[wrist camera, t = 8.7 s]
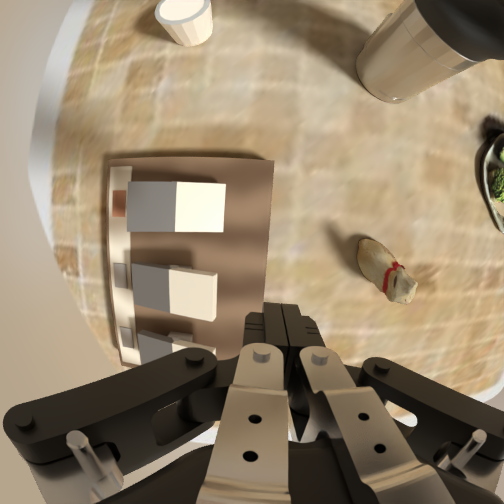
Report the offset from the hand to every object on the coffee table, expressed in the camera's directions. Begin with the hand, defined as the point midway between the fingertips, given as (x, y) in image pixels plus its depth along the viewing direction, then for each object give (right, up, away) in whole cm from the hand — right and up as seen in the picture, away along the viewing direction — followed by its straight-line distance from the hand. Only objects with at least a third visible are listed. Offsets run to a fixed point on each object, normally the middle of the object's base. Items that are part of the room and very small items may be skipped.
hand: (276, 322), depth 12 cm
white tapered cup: (-9, +34, +16) cm, 38 cm away
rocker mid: (-10, -1, +18) cm, 20 cm away
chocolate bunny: (+16, +2, +23) cm, 28 cm away
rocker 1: (-9, +8, +16) cm, 20 cm away
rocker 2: (-10, -10, +19) cm, 24 cm away
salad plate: (+45, +16, +19) cm, 51 cm away
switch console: (-10, 0, +23) cm, 25 cm away
